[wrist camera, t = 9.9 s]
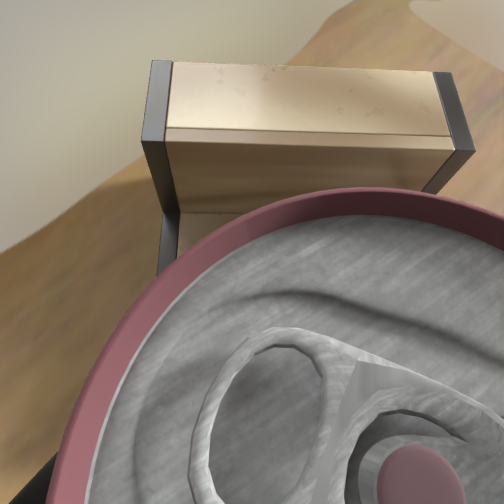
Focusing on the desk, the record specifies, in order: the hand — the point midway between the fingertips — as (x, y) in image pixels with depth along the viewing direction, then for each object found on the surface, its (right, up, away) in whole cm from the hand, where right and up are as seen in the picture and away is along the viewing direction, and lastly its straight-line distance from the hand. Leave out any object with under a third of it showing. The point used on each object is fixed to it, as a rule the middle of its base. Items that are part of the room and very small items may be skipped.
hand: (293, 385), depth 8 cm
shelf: (+1, +1, +15) cm, 15 cm away
